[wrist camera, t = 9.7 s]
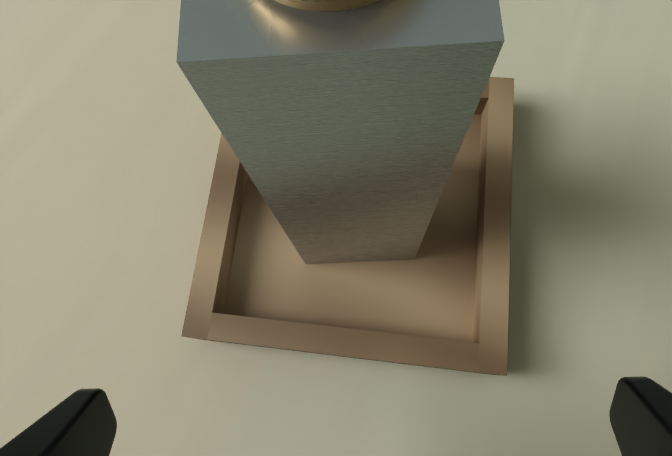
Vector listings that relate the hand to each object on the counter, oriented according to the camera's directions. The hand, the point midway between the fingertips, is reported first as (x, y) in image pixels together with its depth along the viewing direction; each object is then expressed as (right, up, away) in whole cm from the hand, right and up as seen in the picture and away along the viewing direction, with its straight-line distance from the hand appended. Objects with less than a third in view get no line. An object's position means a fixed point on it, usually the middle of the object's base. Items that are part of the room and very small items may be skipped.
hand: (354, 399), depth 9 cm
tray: (+1, +4, +13) cm, 13 cm away
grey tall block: (+1, +4, +12) cm, 13 cm away
